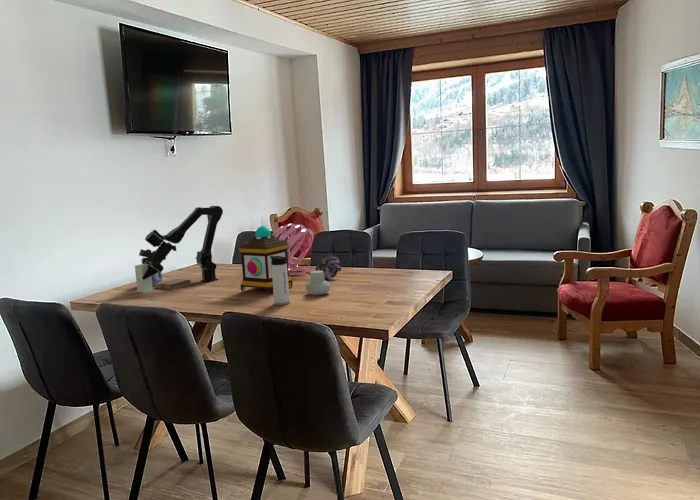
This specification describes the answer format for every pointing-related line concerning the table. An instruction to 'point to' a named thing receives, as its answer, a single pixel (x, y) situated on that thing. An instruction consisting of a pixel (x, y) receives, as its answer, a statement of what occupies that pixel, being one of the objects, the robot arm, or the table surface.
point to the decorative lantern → (261, 259)
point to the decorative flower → (329, 267)
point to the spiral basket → (291, 241)
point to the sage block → (142, 284)
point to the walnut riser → (172, 284)
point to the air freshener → (317, 284)
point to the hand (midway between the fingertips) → (140, 278)
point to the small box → (156, 278)
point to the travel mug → (280, 280)
